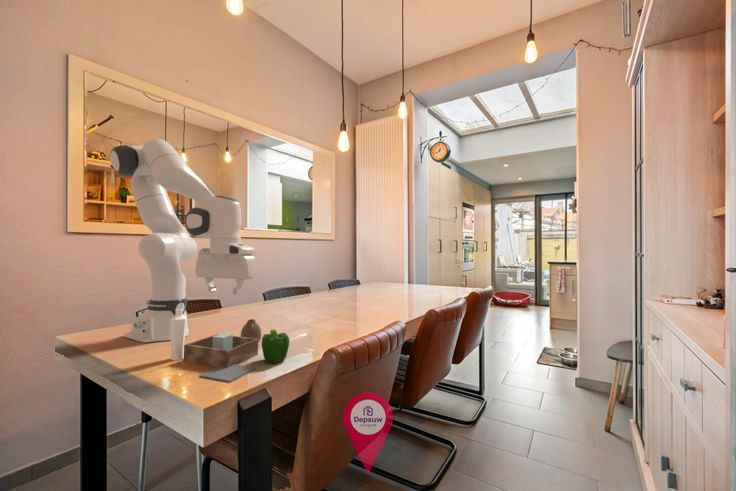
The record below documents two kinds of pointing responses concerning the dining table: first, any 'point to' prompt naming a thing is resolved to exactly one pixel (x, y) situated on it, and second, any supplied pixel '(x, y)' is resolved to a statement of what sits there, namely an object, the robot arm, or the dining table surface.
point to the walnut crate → (220, 352)
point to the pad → (227, 373)
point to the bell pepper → (275, 346)
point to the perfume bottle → (177, 335)
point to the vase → (251, 330)
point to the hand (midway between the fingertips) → (224, 292)
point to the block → (223, 341)
